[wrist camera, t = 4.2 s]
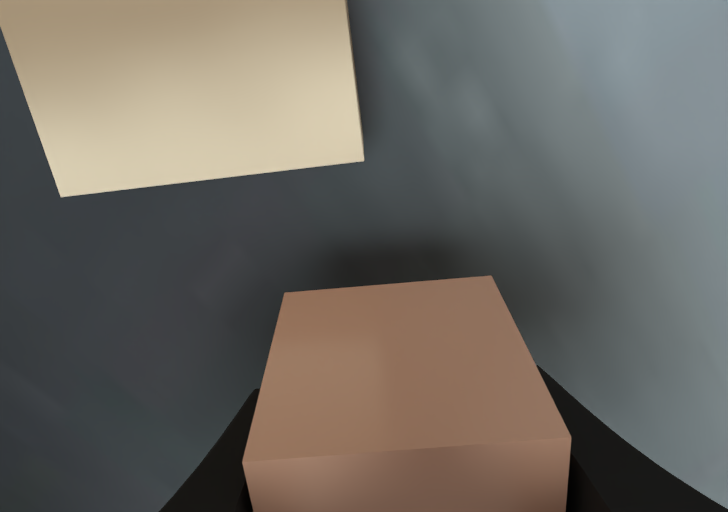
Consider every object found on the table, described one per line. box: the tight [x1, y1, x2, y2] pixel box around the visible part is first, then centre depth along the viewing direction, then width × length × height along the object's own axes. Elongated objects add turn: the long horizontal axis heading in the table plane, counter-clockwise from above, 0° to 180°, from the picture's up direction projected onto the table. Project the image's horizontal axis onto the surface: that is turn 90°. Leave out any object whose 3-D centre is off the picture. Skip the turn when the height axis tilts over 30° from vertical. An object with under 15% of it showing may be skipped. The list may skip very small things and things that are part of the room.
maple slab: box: [0, 0, 364, 197], centre depth 13 cm, size 7×7×3 cm
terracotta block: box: [242, 276, 571, 512], centre depth 11 cm, size 4×4×5 cm
